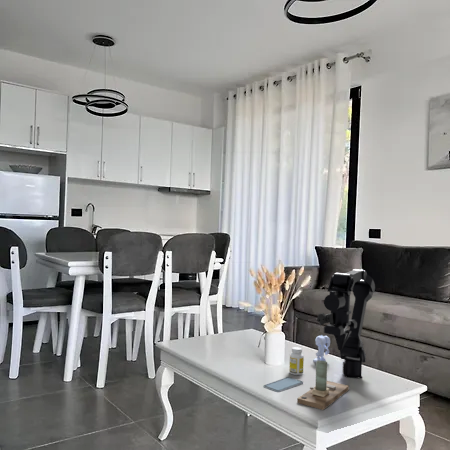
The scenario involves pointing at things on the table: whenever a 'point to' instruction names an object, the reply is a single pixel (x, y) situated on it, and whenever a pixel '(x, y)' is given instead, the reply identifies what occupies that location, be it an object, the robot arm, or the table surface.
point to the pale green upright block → (321, 379)
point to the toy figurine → (322, 347)
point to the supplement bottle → (296, 361)
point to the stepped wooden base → (324, 402)
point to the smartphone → (283, 384)
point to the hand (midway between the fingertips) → (340, 350)
